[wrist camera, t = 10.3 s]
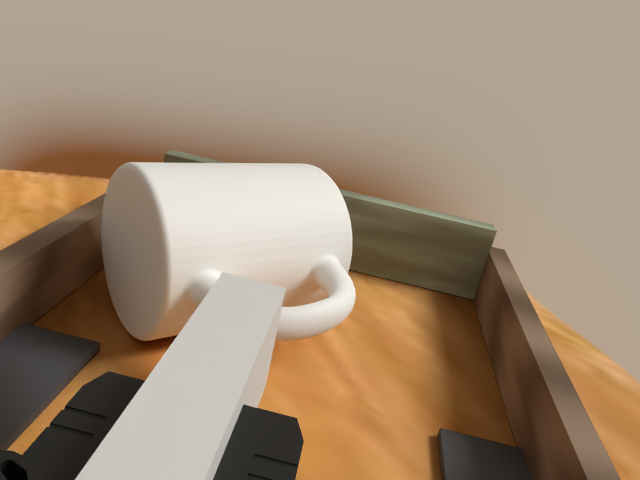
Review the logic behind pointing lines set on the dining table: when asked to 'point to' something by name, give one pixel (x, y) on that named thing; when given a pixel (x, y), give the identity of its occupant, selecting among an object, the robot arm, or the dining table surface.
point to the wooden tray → (367, 257)
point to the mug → (225, 242)
